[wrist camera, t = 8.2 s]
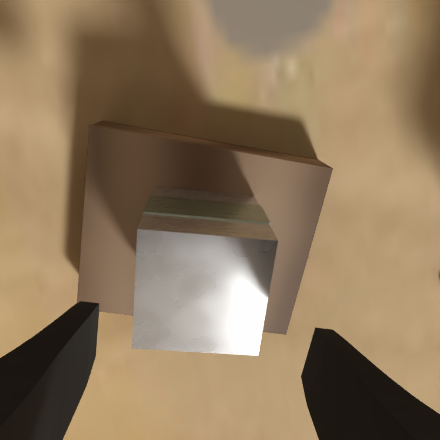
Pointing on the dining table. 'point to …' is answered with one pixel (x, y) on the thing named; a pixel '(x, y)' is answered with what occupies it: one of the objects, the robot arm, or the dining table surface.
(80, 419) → the dining table surface
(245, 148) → the walnut block
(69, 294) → the dining table surface
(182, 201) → the steel tin
